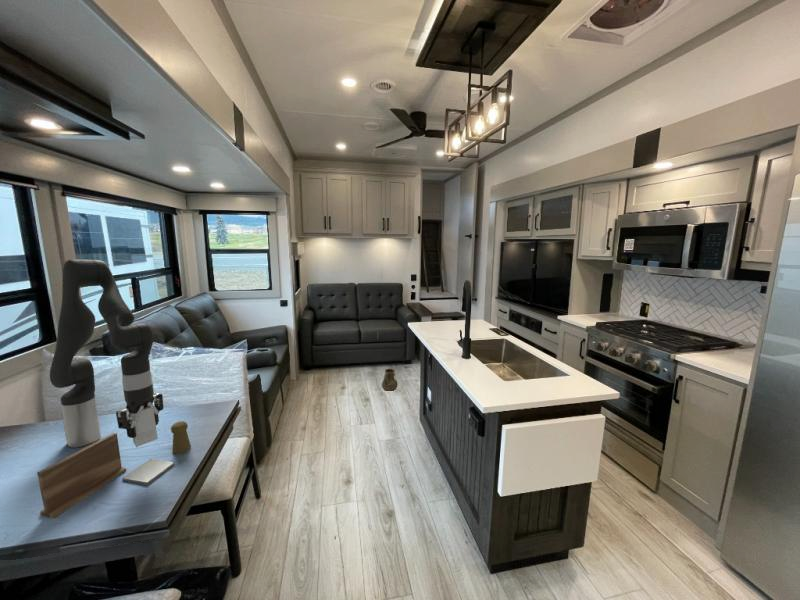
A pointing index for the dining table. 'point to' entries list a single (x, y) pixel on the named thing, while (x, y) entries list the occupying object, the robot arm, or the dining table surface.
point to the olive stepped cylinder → (180, 438)
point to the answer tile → (148, 471)
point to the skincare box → (145, 427)
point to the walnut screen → (79, 475)
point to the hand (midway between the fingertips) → (144, 430)
